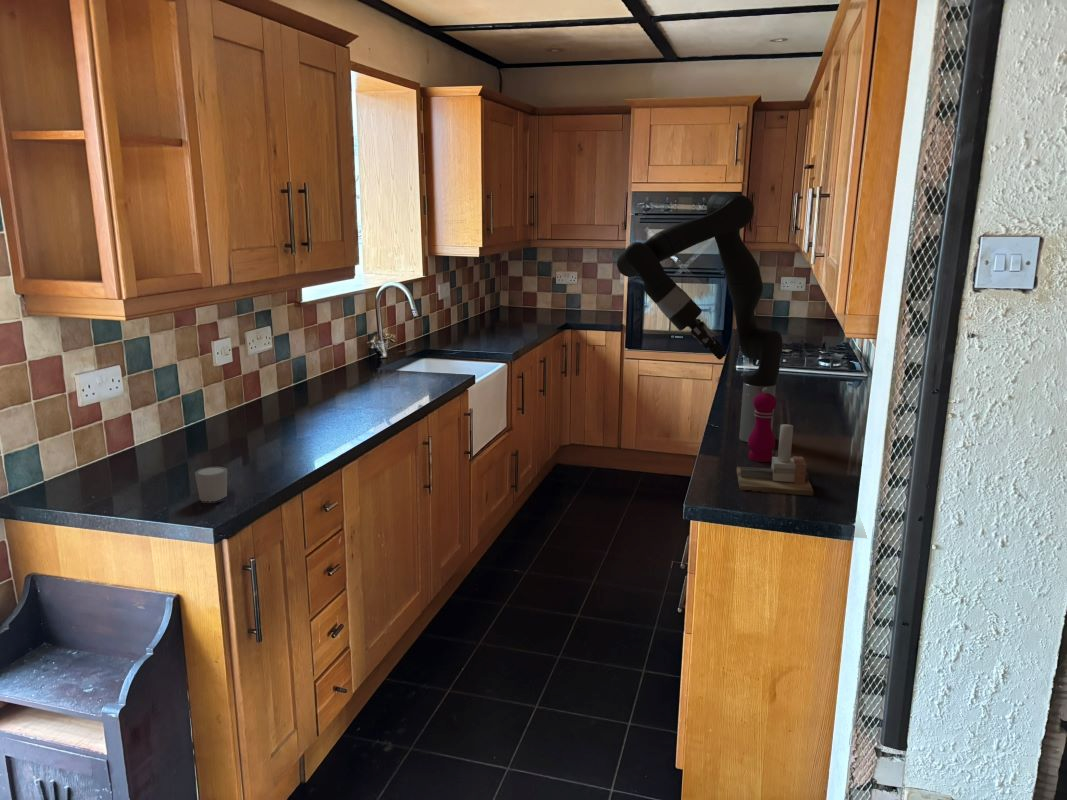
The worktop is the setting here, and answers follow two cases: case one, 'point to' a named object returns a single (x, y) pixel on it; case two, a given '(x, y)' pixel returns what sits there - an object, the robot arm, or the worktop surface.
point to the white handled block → (784, 456)
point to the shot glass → (211, 483)
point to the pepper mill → (762, 428)
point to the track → (763, 481)
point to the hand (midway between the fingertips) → (722, 354)
